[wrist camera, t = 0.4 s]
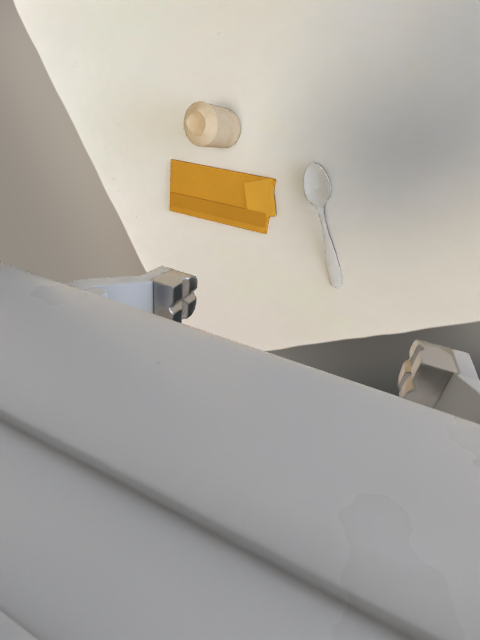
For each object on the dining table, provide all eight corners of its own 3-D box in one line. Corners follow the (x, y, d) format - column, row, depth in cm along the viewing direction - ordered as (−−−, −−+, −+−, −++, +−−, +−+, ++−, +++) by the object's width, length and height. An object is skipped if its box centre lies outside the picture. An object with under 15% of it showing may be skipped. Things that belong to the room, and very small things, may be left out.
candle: (207, 142, 56) (175, 139, 47) (214, 104, 53) (181, 94, 44) (235, 152, 55) (208, 151, 46) (245, 115, 52) (217, 106, 43)
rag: (172, 158, 59) (169, 158, 59) (283, 179, 53) (282, 180, 53) (170, 210, 64) (168, 210, 63) (273, 235, 58) (271, 236, 57)
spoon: (326, 158, 50) (324, 158, 48) (350, 285, 56) (349, 289, 55) (300, 167, 52) (297, 167, 50) (326, 289, 58) (324, 292, 57)
